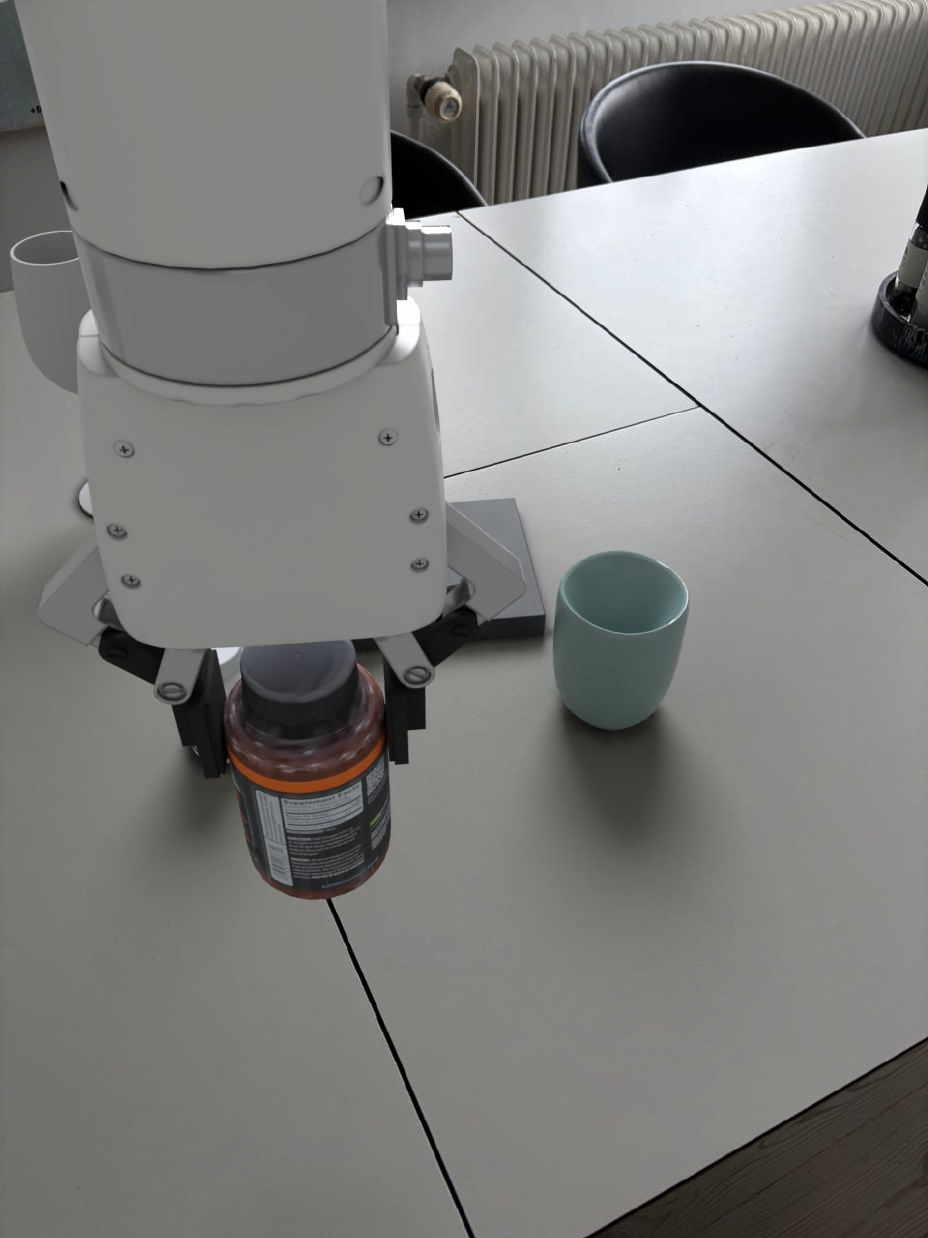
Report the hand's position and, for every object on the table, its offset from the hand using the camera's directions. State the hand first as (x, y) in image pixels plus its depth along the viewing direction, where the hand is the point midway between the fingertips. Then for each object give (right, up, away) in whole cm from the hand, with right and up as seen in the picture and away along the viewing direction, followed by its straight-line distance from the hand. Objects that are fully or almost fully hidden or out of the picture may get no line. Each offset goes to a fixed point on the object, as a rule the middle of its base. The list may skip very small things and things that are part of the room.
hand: (308, 738), depth 37 cm
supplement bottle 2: (0, -5, +5) cm, 7 cm away
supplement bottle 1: (-9, -3, +28) cm, 29 cm away
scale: (+3, +7, +39) cm, 40 cm away
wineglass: (-23, +15, +47) cm, 54 cm away
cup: (+15, -1, +30) cm, 34 cm away
